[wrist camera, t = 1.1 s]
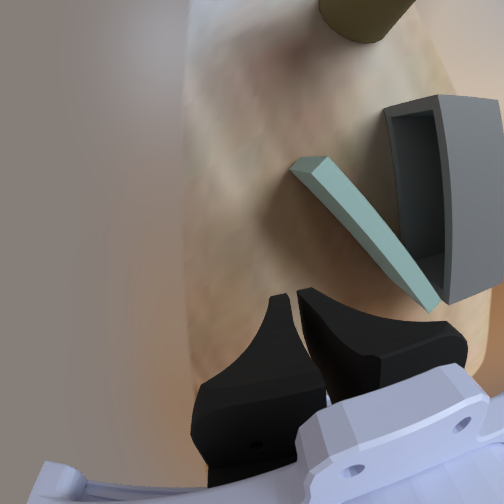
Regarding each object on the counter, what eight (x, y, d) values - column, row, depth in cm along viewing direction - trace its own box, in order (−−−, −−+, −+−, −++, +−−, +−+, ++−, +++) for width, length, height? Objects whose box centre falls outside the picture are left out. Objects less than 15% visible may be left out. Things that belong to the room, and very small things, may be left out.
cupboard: (452, 253, 23) (502, 282, 16) (401, 268, 23) (448, 305, 16) (440, 107, 19) (498, 100, 12) (383, 108, 19) (437, 94, 12)
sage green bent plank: (399, 268, 23) (441, 300, 17) (389, 278, 23) (429, 313, 17) (300, 156, 20) (327, 156, 14) (288, 169, 20) (311, 173, 14)
